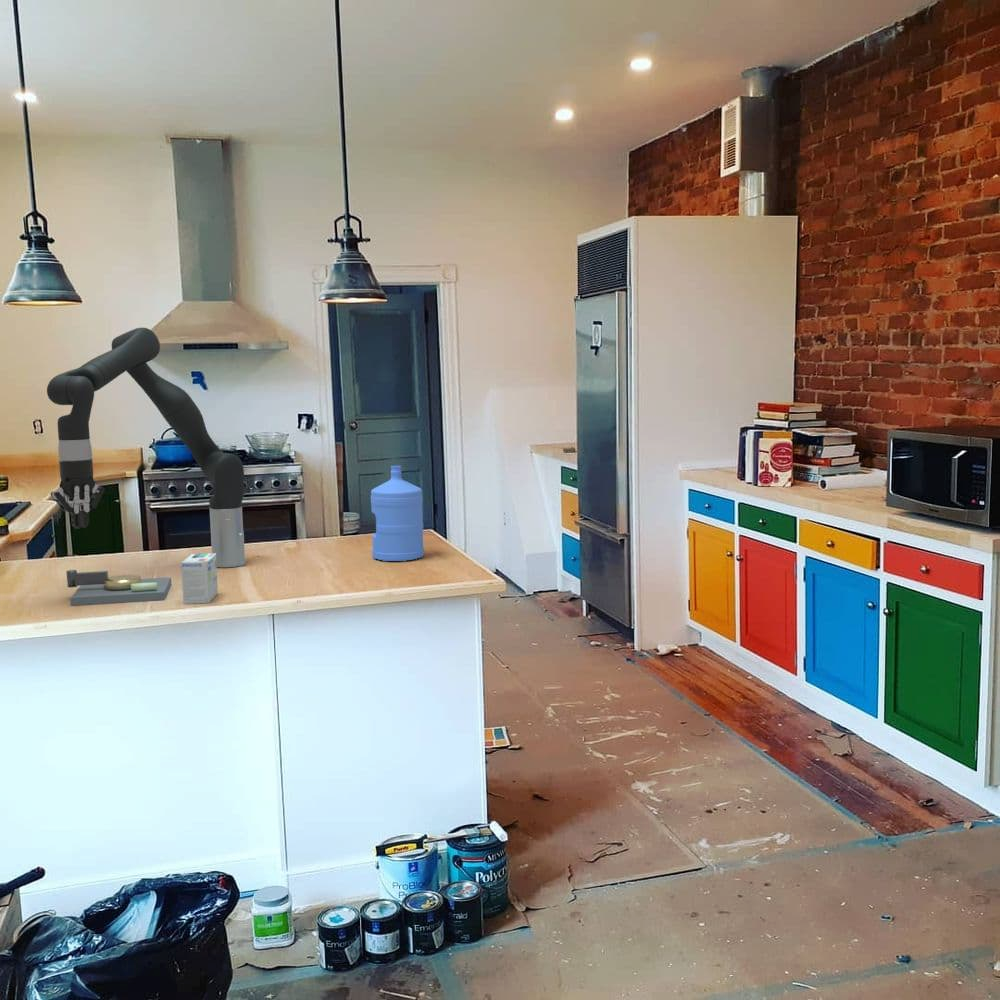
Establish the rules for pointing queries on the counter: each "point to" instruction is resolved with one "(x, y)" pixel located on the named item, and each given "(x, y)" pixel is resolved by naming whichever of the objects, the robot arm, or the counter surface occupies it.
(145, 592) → the instrument base
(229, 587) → the counter surface
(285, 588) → the counter surface
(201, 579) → the light bulb box
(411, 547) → the water jug
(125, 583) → the tan disc with handle
